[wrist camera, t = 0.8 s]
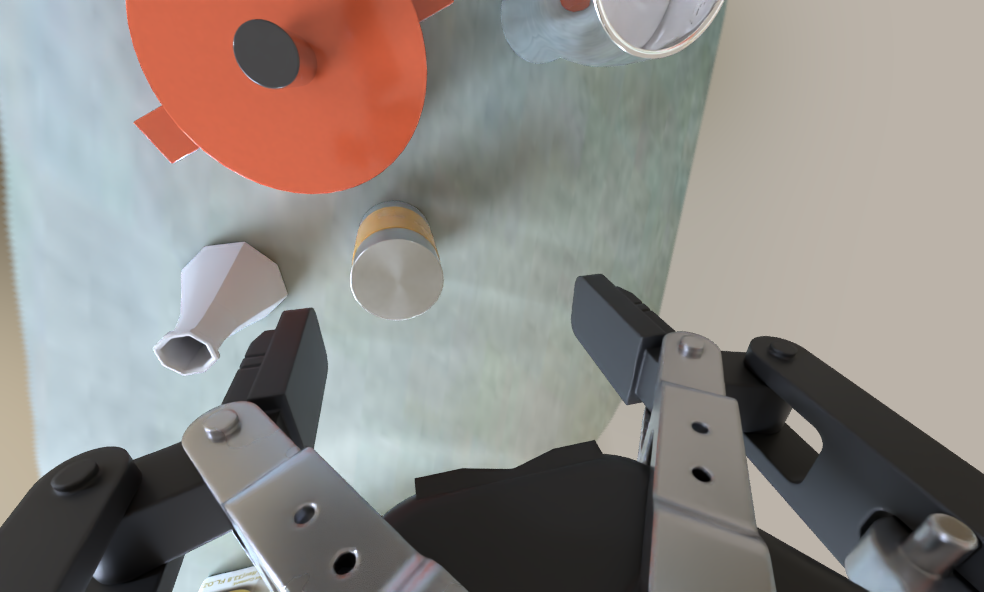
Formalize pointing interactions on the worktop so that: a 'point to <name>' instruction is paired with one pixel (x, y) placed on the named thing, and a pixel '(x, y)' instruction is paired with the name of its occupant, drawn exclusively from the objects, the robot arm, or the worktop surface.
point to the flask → (219, 304)
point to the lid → (287, 83)
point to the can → (395, 262)
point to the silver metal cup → (604, 29)
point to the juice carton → (235, 582)
